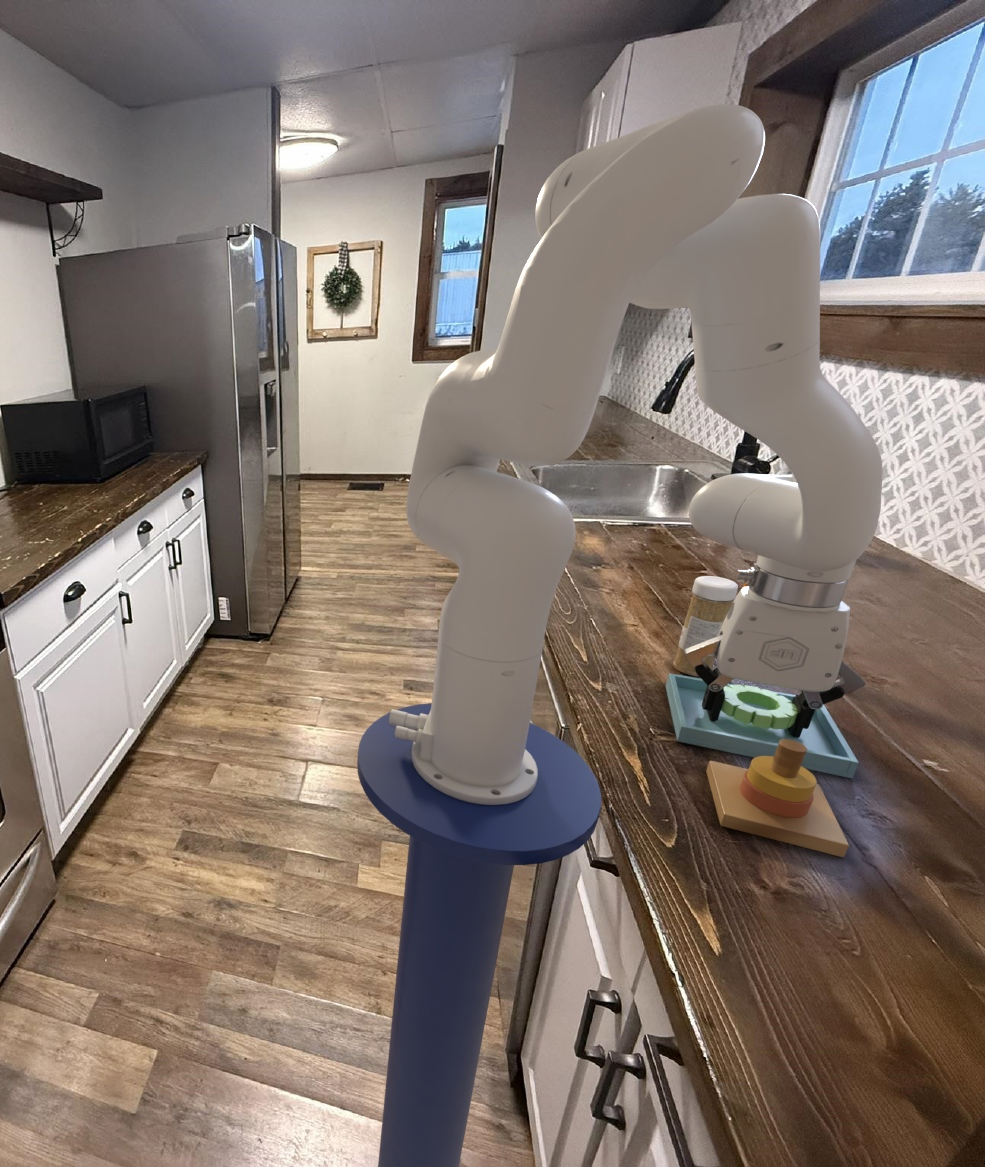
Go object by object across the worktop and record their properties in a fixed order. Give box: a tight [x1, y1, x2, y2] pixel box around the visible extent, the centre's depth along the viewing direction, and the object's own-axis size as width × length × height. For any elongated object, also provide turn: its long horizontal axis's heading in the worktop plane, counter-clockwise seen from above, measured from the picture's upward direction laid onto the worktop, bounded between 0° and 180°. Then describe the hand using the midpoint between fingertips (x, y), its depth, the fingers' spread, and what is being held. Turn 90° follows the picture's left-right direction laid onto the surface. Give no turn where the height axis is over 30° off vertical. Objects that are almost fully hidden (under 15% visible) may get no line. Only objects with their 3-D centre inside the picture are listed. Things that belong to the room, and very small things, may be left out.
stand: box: [705, 739, 850, 858], centre depth 61 cm, size 9×9×8 cm
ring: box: [721, 684, 798, 729], centre depth 74 cm, size 7×7×2 cm
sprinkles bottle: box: [672, 575, 739, 677], centre depth 85 cm, size 5×5×14 cm
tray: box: [665, 673, 860, 779], centre depth 74 cm, size 15×13×2 cm
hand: (750, 721), depth 75 cm, fingers closed on ring, 6 cm apart
